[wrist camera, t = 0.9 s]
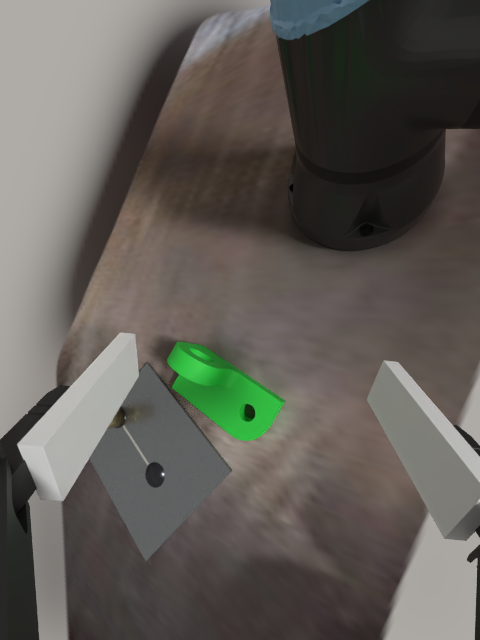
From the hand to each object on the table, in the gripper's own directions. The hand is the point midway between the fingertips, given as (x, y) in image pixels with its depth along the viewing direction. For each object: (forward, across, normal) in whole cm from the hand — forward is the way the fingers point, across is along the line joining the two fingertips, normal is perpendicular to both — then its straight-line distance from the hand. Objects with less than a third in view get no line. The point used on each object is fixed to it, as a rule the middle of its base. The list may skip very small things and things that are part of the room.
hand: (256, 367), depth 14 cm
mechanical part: (+12, -1, -13) cm, 18 cm away
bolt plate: (+10, -11, -22) cm, 27 cm away
